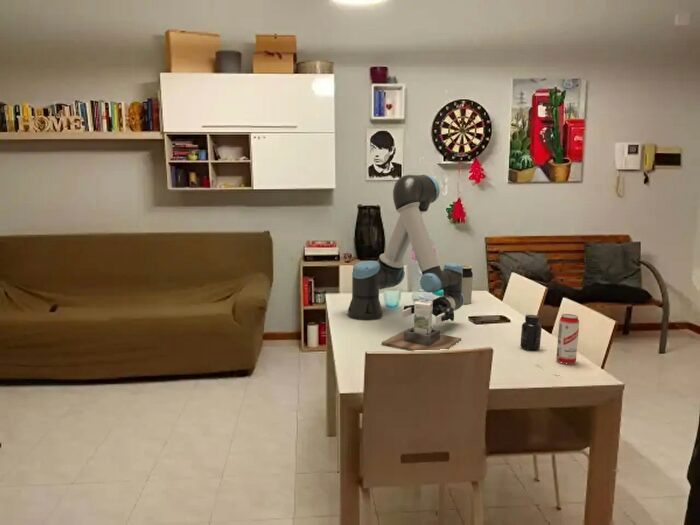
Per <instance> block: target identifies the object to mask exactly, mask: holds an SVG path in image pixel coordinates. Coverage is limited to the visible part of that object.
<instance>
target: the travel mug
mask: <svg viewBox="0 0 700 525" xmlns="http://www.w3.org/2000/svg"><path fill="white" fill-rule="evenodd" d="M461 265H462V267H463V277H462V294H463V296H464V298H465V301H464V304H463V305H470V304H472V295H473V294H472V292H473V291H472V290H473V275H474V274H473V271H472V270H473V266H472V265H468V264H461Z"/></svg>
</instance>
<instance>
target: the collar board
mask: <svg viewBox="0 0 700 525" xmlns="http://www.w3.org/2000/svg"><path fill="white" fill-rule="evenodd" d="M459 341H460V342H461V341H462V337H457V336H452V335H446V334H441V330H440V329H437V328H432V329H431V334H429V335H424V334H419V333H414V326H413V327H411V328H406V329H405V330H403V331H401V332H399V333H397V334H395V335H393V336H391V337H389V338H387V339H385V340H383V341H381V346H384V347H390V348H395V349H399V348H400V350H404V349H406V350H405V351H409V350H440V349H448V350H449V349H451V348H452V347H454V346H455V345H457V344H458V343H460V342H459ZM456 343H457V344H456ZM453 345H454V346H453ZM451 346H452V347H451ZM450 347H451V348H450Z"/></svg>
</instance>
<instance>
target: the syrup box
mask: <svg viewBox="0 0 700 525" xmlns="http://www.w3.org/2000/svg"><path fill="white" fill-rule="evenodd" d="M414 305H415V306H414V314H413V327H414V333H419V334H424V335H429V334H431V329H433V328H432V327H433V325H432V324H433V314H432V309H433V302H432V301H430V300H419V299H418V300H416V301H415V302H414Z"/></svg>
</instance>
